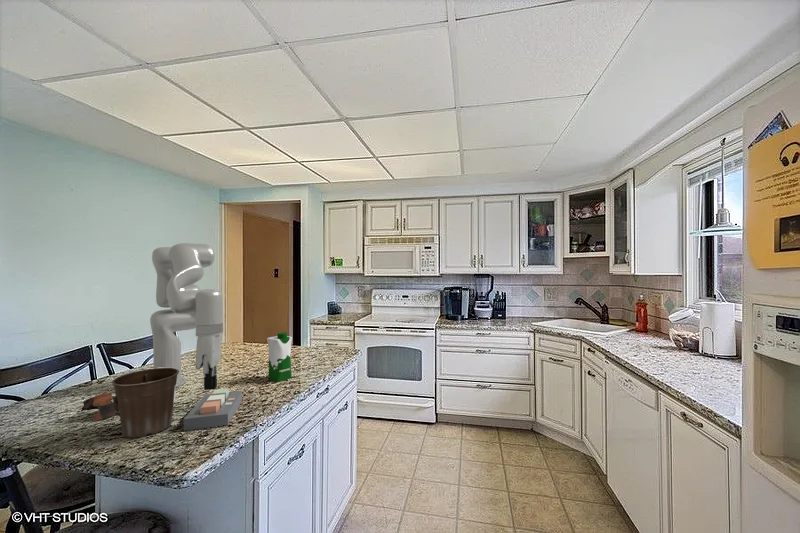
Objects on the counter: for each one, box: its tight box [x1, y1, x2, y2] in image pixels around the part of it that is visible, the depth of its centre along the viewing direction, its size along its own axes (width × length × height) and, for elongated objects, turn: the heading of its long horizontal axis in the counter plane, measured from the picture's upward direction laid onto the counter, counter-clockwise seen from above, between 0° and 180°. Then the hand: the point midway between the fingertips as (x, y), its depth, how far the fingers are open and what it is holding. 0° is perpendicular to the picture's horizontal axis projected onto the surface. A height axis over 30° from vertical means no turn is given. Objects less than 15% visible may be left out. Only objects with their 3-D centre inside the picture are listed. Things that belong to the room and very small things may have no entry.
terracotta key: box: [200, 401, 220, 415], centre depth 106 cm, size 4×4×3 cm
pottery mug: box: [80, 392, 119, 423], centre depth 114 cm, size 12×10×8 cm
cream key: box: [206, 394, 225, 406], centre depth 112 cm, size 4×4×3 cm
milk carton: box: [266, 331, 293, 383], centre depth 148 cm, size 9×9×20 cm
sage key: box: [211, 388, 230, 399], centre depth 118 cm, size 4×4×3 cm
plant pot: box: [111, 367, 179, 439], centre depth 102 cm, size 16×16×16 cm
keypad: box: [183, 390, 243, 431], centre depth 112 cm, size 21×12×4 cm, turn 14°
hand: (210, 388), depth 106 cm, fingers closed
